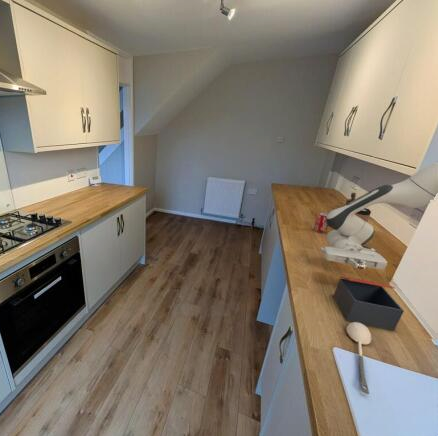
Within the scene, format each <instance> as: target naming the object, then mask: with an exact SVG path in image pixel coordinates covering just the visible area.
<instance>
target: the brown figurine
mask: <svg viewBox="0 0 438 436" xmlns="http://www.w3.org/2000/svg"><path fill="white" fill-rule="evenodd" d="M356 197H357V193H356V192H351V194H350V198H347V199H346V202H345V204H347V203H349V202H351V201H353V200H355V199H356Z"/></svg>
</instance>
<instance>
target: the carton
mask: <svg viewBox="0 0 438 436" xmlns="http://www.w3.org/2000/svg"><path fill="white" fill-rule="evenodd" d="M335 287H336V288H335V290H334V294H333V298H334V300H335V301H336V303H337V305H338V307H339V309H340V311H341V313H342V315H343V316H344V318H345V320H346V321H349V322H351V323H352V322H359V323H361V324H363V325H365V326H370V327H374V328H378V329H382V330H386V331H392V332H394V331H395V330H396V328H397V327H398V324H399V322H400V320H401V317H402V316H403V314H404V313H405V310H404V309H403V308H402V306H401V305H400V304H399V303H398V302H397V301H396V300H395V299H394V298H393V296H392V295H391V294H390V293H389V292H388V291H387V290H386V289H385V287H383V286H377V285H372V284H366V283H361V282H356V281H350V280H347V279H344V278H341V277H339V279H338V282H337V285H336V286H335Z"/></svg>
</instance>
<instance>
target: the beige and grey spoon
mask: <svg viewBox="0 0 438 436" xmlns="http://www.w3.org/2000/svg"><path fill="white" fill-rule="evenodd" d="M346 333H347V334H348V336H349V337H350V339H352V340H353V341H355V342H356V343H358V344H357V345H358V364H359V373H360V388H361V392H363V393H364V394H366V395H370V391H369V386H368V383H367V379H366V374H365V368H364V357H363V346H362V345H369V344H371V342H372V334H371V331H370V329H369V328H368V327H367V325H365V324H361V323H359V322H352V321H351V322H350V323H348V325H347V326H346Z"/></svg>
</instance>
